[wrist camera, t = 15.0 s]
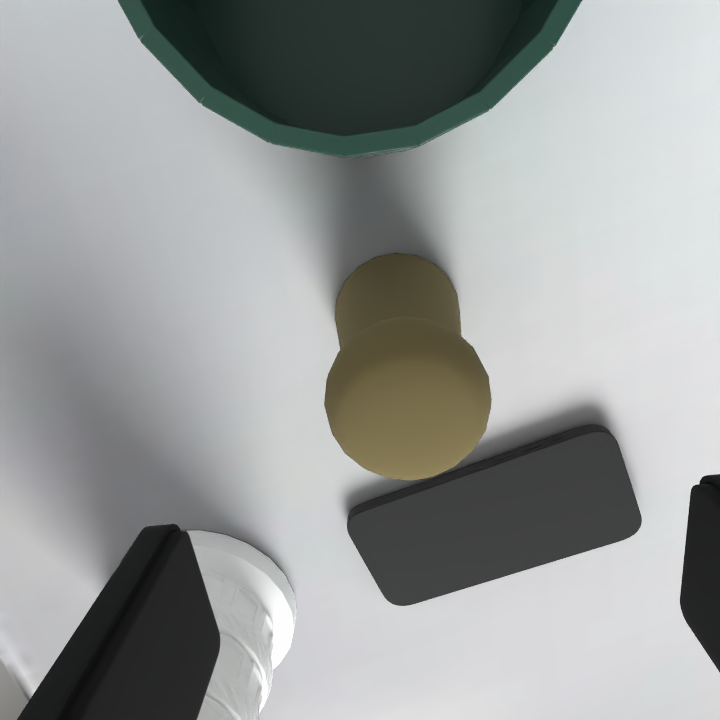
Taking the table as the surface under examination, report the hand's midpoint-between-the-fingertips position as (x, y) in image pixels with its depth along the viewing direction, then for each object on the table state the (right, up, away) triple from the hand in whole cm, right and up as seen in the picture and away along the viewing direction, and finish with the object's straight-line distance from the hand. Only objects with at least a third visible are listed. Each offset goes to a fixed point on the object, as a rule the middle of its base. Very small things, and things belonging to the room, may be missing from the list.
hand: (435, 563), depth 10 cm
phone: (+6, -5, +19) cm, 21 cm away
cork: (0, +6, +15) cm, 17 cm away
